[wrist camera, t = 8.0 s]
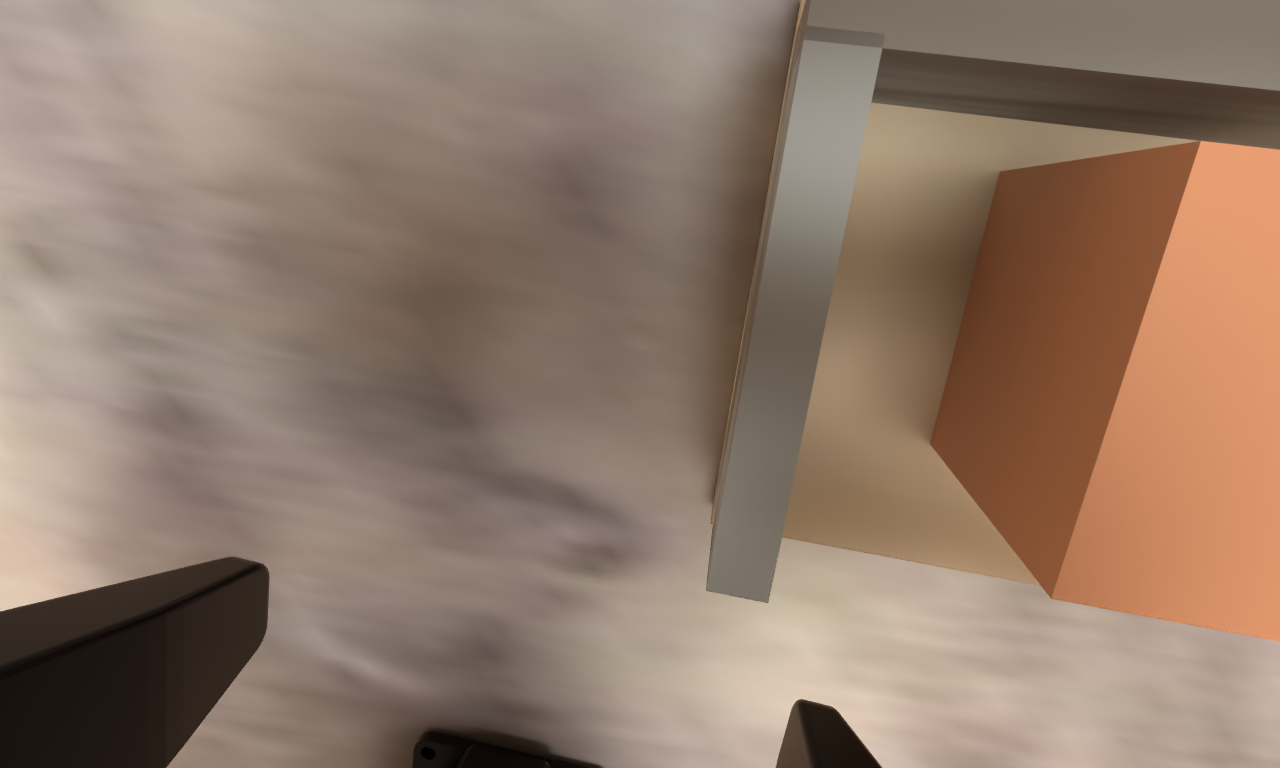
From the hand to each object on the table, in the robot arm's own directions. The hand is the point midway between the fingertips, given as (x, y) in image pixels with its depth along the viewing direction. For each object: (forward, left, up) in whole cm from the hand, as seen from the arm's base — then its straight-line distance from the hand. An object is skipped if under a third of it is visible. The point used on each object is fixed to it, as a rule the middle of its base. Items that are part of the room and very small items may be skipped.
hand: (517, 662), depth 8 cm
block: (+4, -9, -11) cm, 14 cm away
